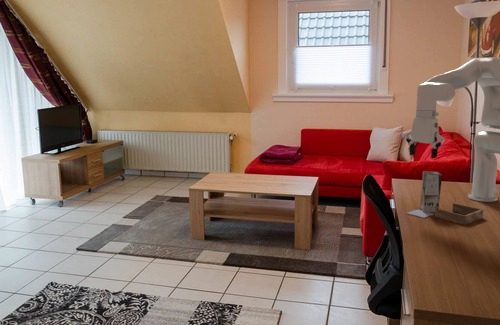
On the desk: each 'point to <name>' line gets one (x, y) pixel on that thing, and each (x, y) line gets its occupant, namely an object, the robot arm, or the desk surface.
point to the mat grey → (420, 213)
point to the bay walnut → (470, 212)
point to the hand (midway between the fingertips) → (422, 156)
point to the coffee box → (430, 191)
